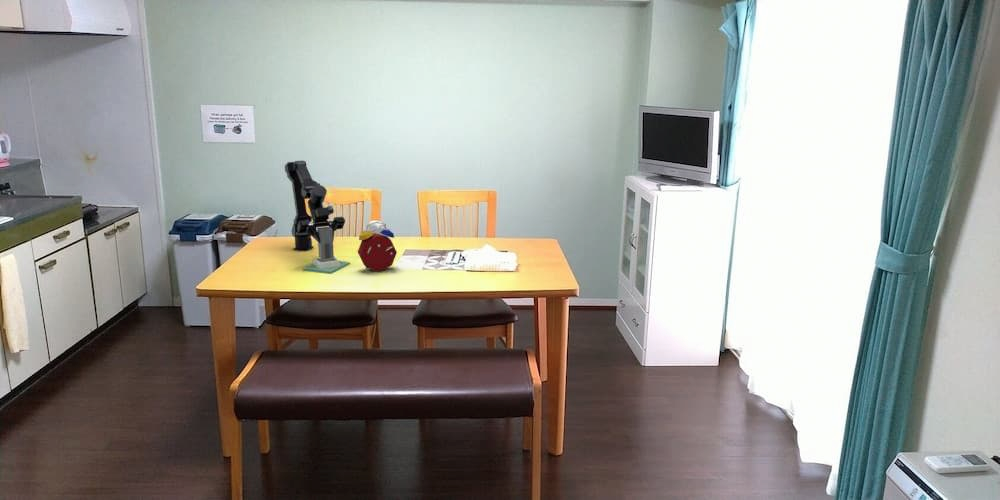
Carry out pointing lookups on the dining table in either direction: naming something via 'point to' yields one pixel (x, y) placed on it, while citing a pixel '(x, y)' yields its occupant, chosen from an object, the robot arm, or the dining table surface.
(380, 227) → the photo printer
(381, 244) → the alarm clock
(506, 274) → the dining table surface
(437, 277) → the dining table surface
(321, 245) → the grey rectangular block
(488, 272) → the dining table surface
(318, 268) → the header board
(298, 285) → the dining table surface
